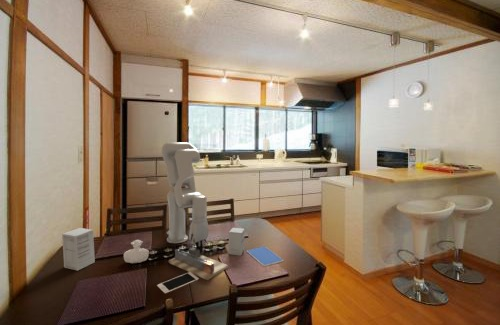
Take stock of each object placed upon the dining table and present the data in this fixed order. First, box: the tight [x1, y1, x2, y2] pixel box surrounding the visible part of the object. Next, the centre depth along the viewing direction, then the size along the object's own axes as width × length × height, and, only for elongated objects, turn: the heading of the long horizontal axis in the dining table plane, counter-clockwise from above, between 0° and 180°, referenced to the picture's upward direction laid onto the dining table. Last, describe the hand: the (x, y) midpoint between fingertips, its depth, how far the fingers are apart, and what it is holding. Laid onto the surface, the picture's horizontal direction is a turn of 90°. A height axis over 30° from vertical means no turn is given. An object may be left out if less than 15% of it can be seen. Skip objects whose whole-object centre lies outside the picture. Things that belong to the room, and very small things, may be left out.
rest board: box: [168, 250, 229, 281], centre depth 126 cm, size 27×14×1 cm, turn 56°
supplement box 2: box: [228, 227, 245, 256], centre depth 141 cm, size 7×7×13 cm
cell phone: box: [156, 272, 200, 294], centre depth 111 cm, size 8×16×1 cm, turn 134°
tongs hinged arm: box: [180, 250, 214, 273], centre depth 123 cm, size 22×1×4 cm, turn 55°
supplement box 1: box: [61, 227, 96, 272], centre depth 124 cm, size 10×9×17 cm
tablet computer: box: [246, 246, 285, 267], centre depth 137 cm, size 19×13×1 cm, turn 29°
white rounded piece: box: [123, 239, 150, 264], centre depth 130 cm, size 12×8×11 cm
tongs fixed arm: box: [174, 248, 212, 274], centre depth 123 cm, size 25×2×5 cm, turn 56°
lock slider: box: [188, 246, 201, 257], centre depth 132 cm, size 5×3×4 cm, turn 56°
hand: (199, 252), depth 136 cm, fingers closed
